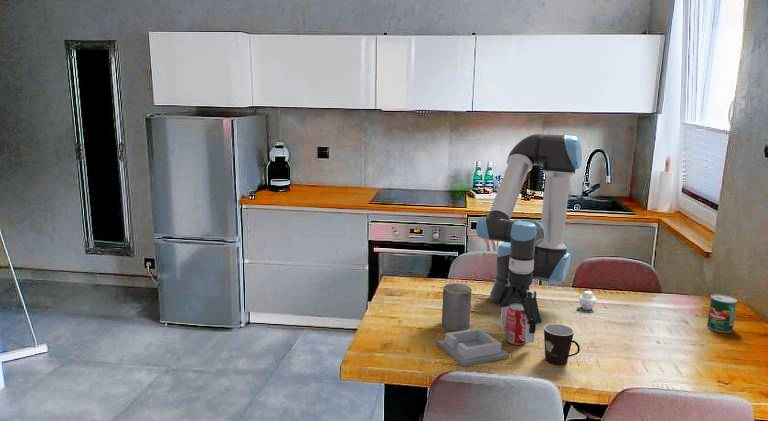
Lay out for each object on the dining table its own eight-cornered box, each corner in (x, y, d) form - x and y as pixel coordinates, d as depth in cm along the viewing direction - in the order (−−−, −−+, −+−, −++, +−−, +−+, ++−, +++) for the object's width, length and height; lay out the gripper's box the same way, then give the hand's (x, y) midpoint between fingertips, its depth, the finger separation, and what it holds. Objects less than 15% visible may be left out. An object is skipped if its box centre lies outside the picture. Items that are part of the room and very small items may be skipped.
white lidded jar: (597, 311, 209) (599, 293, 208) (581, 311, 209) (582, 293, 208) (592, 305, 215) (593, 288, 214) (576, 305, 215) (577, 287, 214)
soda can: (527, 338, 184) (530, 304, 182) (525, 347, 178) (528, 312, 175) (506, 335, 187) (508, 301, 184) (503, 344, 180) (505, 308, 178)
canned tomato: (731, 326, 198) (735, 296, 196) (734, 334, 191) (739, 303, 189) (705, 322, 201) (709, 292, 199) (707, 330, 194) (712, 299, 192)
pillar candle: (440, 319, 199) (442, 279, 196) (468, 320, 199) (470, 280, 195) (442, 331, 189) (444, 289, 186) (471, 331, 189) (473, 289, 186)
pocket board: (480, 336, 185) (481, 325, 184) (508, 357, 171) (509, 344, 170) (437, 344, 179) (437, 332, 178) (463, 366, 165) (463, 353, 164)
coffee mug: (537, 354, 173) (539, 324, 171) (564, 353, 174) (567, 323, 172) (551, 372, 162) (554, 340, 160) (580, 371, 163) (583, 339, 161)
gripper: (488, 260, 187) (485, 320, 192) (535, 284, 165) (530, 351, 169) (507, 258, 190) (503, 317, 194) (556, 281, 168) (550, 347, 172)
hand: (516, 333), depth 182 cm, fingers open, 13 cm apart
